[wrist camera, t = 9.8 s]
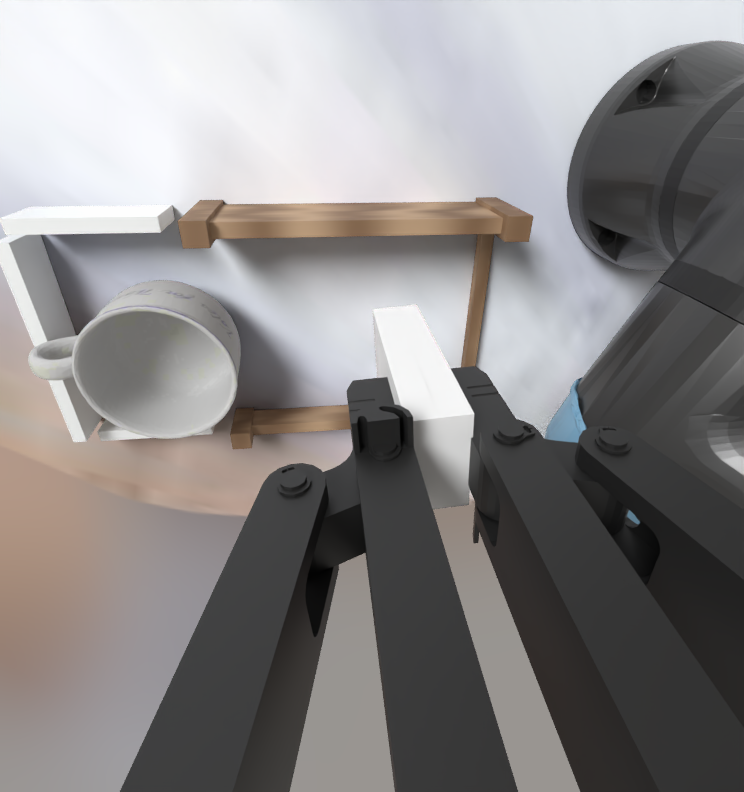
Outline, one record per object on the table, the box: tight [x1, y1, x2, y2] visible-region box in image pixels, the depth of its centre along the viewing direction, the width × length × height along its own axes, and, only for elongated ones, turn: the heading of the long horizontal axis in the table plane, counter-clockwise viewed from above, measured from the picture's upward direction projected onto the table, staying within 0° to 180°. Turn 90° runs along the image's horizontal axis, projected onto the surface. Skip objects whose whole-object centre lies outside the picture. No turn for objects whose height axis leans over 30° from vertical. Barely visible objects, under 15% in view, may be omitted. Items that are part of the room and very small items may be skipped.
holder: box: [0, 205, 215, 442], centre depth 36 cm, size 10×19×4 cm, turn 179°
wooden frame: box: [178, 197, 533, 449], centre depth 37 cm, size 22×20×7 cm
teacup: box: [28, 280, 241, 439], centre depth 35 cm, size 14×11×8 cm
